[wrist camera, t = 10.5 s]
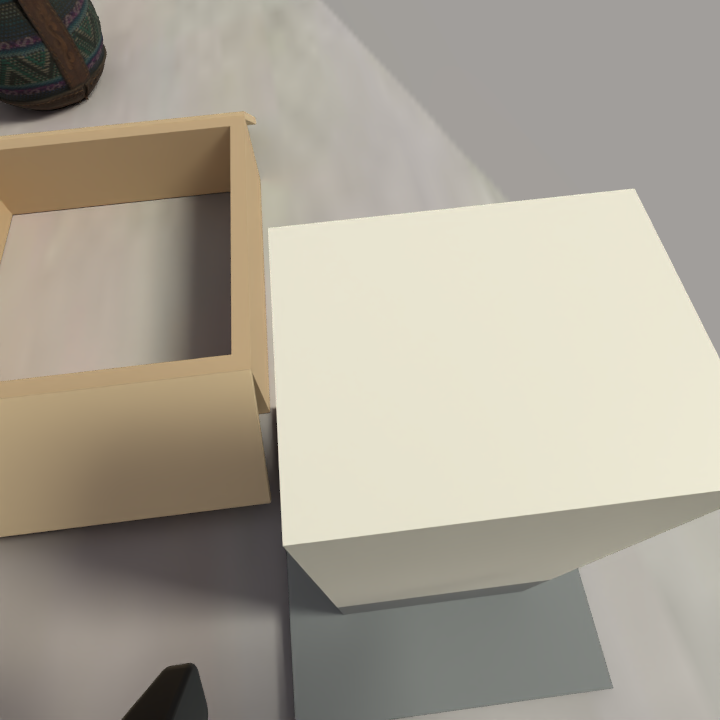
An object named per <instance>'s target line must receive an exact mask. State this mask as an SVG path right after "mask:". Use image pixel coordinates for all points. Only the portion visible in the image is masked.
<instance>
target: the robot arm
mask: <svg viewBox="0 0 720 720" xmlns="http://www.w3.org/2000/svg"><path fill="white" fill-rule="evenodd" d="M122 720H208V709H207V703H206V699H205V695H204V691H203V688H202V684H201V680H200V676H199V672H198V669H197V667H196V666H195V664H192V663H186V664H180V665H174V666H169V667H167V668H166V669H164V670H163V671H162V672H161V673H160V675H159V676H158V677H157V678H156V679H155V680H154V682H153V683H152V684H151V685H150V686H149V688H148V689H147V690H146V691H145V692H144V693H143V695H142V696H141V697H140V698H139V699H138V701H137V702H136V703H135V704H134V705H133V707H132V708H131V709H130V710H129V711H128V712H127V714H126V715H125V716H124V717H123V718H122Z"/></svg>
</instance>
